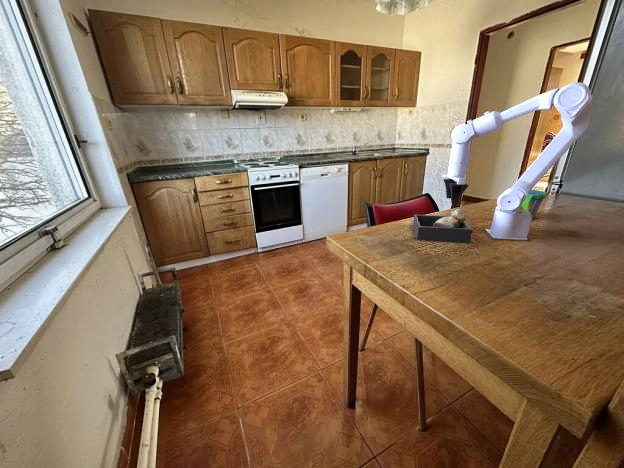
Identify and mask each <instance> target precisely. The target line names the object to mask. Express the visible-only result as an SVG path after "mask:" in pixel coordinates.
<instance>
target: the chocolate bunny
mask: <svg viewBox="0 0 624 468" xmlns="http://www.w3.org/2000/svg"><path fill="white" fill-rule="evenodd" d="M449 216H450V217H443V218H441V219H439V220H437V221H436V222H435V223H434V224H433V227H446V228H457V227H458V226H459V224H460V223H463V222H464V221H465V222H466V214H465V213H463V211H462V210H461V209H460V208H457V209H453V210H451V211H450V215H449Z"/></svg>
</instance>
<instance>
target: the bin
mask: <svg viewBox="0 0 624 468" xmlns="http://www.w3.org/2000/svg"><path fill="white" fill-rule="evenodd" d="M450 216H451V215H436V214H435V215H434V214H433V215H432V214H413V219H412V220H413V221H412V228H413V231H414V235H415V238H416V240H417V241H426V242H427V241H428V242H430V241H431V242H447V243H459V244H470V243H471V237H472V233H473V229H472V228H471V226H470V225H469V224H468V222H466V220H465V221H464V222H463V223H460V224H459V226H458V227H457V228H446V227H433V224H434V223H435V222H436V221H437V220H439V219H441V218H443V217H450Z"/></svg>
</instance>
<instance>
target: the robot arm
mask: <svg viewBox="0 0 624 468" xmlns="http://www.w3.org/2000/svg"><path fill="white" fill-rule="evenodd" d="M592 105H593V95H592V93H591V90H590V88H589V86H588V85H587V84H585V83H584V82H572V83H569V84H566V85H564V86H563V87H561V88H560V87H557V88H554V89H551V90H548V91H546V92H543V93H541V94H538V95H536V96H534V97H532V98H529V99H528V100H525V101H523V102H521V103H519V104H516V105H514V106H512V107H510V108H508V109H506V110H503V111H501V112H499V111H496V110H493V111H489V110H488V111H486V112H484V113H483V115H482V116H479V117H477V118H475V119H473V120H472V119H469V120H467V121H466V122H467V124H466V123H461V124H459V125H457V126H456V127H454V128H453V130H452V131H451V134H450V135H451V140H452V144H451V150H450V155H449V161H448V168H447V173H446V174H443V176H442V177H443V184H444V186H445V195H446V196H445V197H446V199H450V204H451V205H452V204H453V205H458V204H459V203H460V201H461V199H462V197H463V194H464V193H465V191H466V189H468V187H469V184H468V183H466V178H467V170H468V166H469V160H470V155H471V146H472V141H473V140H474V139H477V138H481V137H483V136H485V135H488V134H492V133H494V132H496V131H498V130H500V129H501V127H502V126H503V125H504V123H506V122H509V121H512V120H515V119H517V118H520V117H522V116H525V115H528V114H530V113H534V112H535V111H552V110H553V107H555V108H556V111H558V113H559V114H560V116H561V117H560V119H561V123H562V126H563V127H562V128H561V129H560V130H559V132H558V133H557V134H556V135H555V137H554V138H553V139H552V140H551V141H550V142H549V143H548V145H546V147H545V148H544V149H543V150H542V152H541V153H540V154H539V155H538V156H537V157H536V159H534V161H533V162H532V163H531V164H530V165H529V166H528V167H527V169H526V170H525V171H524V172H523V173H522V175H520V177H519V178H518V179H517V180H516V181H515V183H514V184H513V185H511V186H509V187H508V188H506V189H505V190H504V191H502V193H501V194H500V195H499V196H498V198H497V201H496V204H497V205H496V206H495V209H494V213H493V218H492V221H491V225H490V228H486V229H485V232H486V233H487V234H488V235H489V236H490V237H491V238H492V239H494V240H495V239H496V240H510V241H511V240H513V241H528V240H529V239H528V235H529V233H530V232H529V231H530V228H531V224H532V220H533V218H532V215H531V213H530V211H527V210H524V209H523V208H522V204H523V202H524V200H525V199H526V195H527V194H528V193H529V192H530V191H531V190H533V188H535V186H536V185H537V184H538V183H539V182H540V181H541V180H542V179H543V177H545V175H546V174H547V173H548V172H549V171H550V170H551V169H552V168H553V166H554V165H555V164H557V162H558V161H559V160H560V159H561V158H562V157H563V156H564V155H565V154H566V153H567V151H568V150H569V149H571V147H572V146H573V145H574V144H575V143H576V141H577V140H578V139H580V137H581V136H582V135H584V133H585V132H586V131H587V130H588V128H589V127H590V123H591V114H592Z"/></svg>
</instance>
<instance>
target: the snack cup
mask: <svg viewBox="0 0 624 468" xmlns="http://www.w3.org/2000/svg"><path fill="white" fill-rule="evenodd" d="M546 197H547V192H545V191H542V190H538V189H531V191H530V192H529V193H528V194H527V195H526V199H525V200H524V202H523V204H522V208H523V209H524V210H527V211H530V213H531V215H532V219H534V218H535V217H536V215H537V213H538V211H539V209H540V207H541V205H542V203H543V201H544V199H545V198H546Z"/></svg>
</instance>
